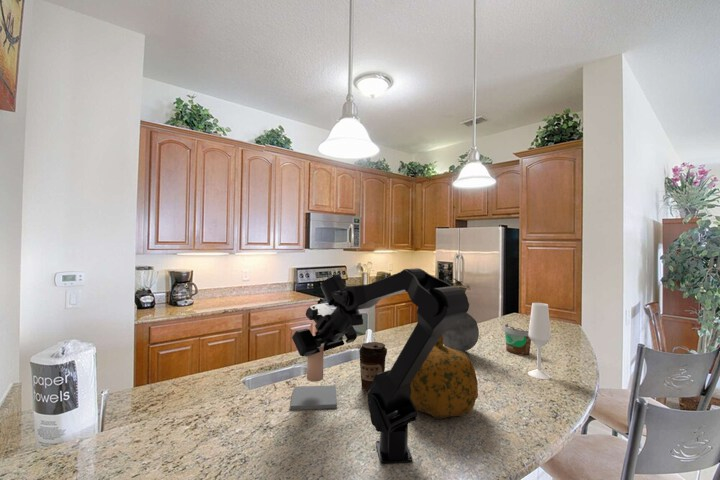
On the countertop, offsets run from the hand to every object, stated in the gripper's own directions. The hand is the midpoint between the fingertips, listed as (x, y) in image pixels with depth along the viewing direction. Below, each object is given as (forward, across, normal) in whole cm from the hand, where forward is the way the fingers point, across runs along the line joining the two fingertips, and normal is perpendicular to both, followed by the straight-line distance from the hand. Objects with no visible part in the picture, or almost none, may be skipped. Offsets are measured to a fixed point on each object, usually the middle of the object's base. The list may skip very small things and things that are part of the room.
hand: (312, 353), depth 88 cm
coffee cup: (+3, -16, +15) cm, 22 cm away
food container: (-10, -82, +28) cm, 88 cm away
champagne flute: (-20, -65, +38) cm, 78 cm away
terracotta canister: (+4, 0, +6) cm, 7 cm away
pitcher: (+1, -64, +16) cm, 66 cm away
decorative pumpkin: (-11, -21, +29) cm, 37 cm away
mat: (+8, 0, +10) cm, 12 cm away
